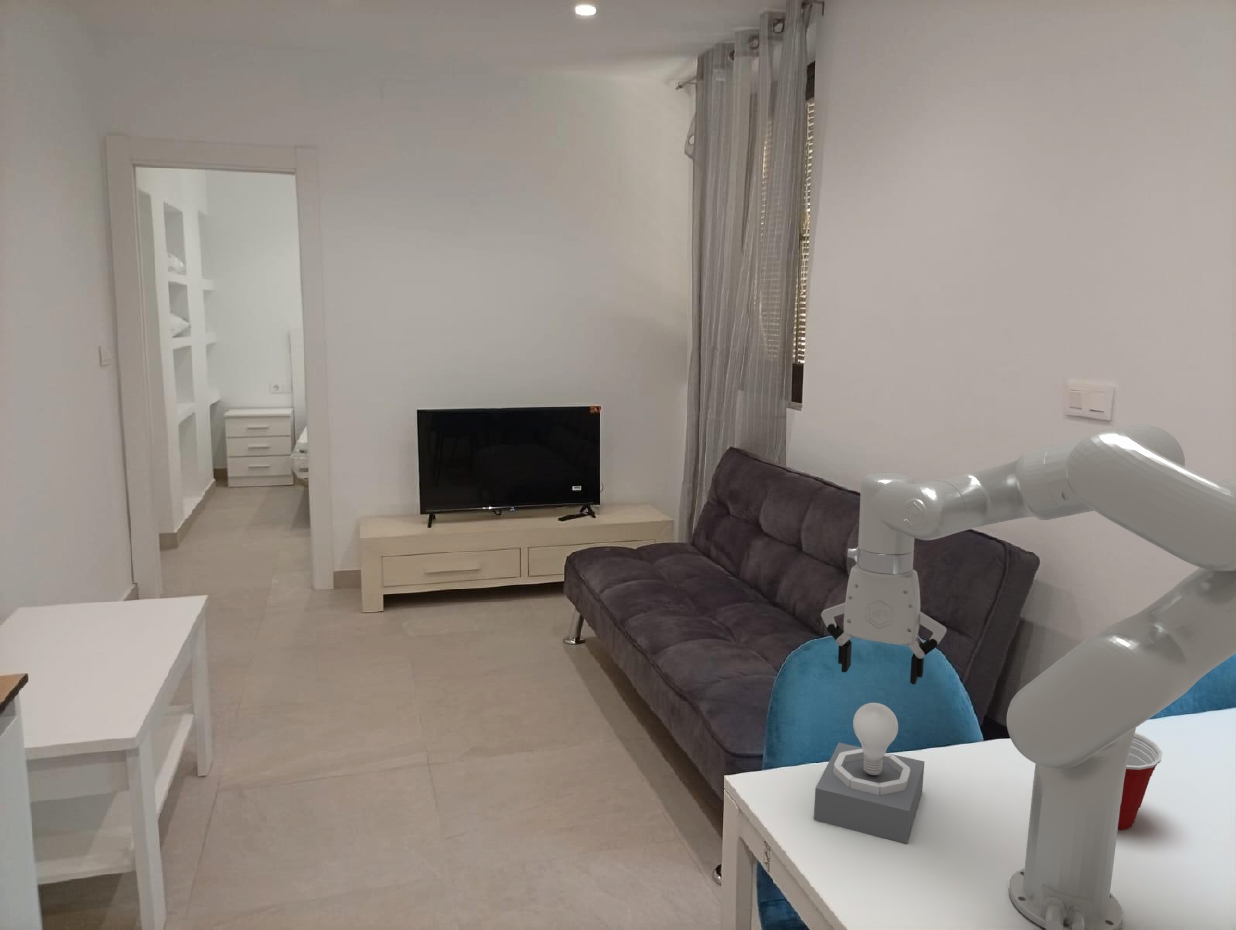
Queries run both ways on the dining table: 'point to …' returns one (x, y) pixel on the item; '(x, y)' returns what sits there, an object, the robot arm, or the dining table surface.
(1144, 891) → the dining table surface
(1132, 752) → the plastic cup
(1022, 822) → the dining table surface
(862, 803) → the octagon ring base plate
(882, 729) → the lightbulb
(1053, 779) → the robot arm
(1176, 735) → the dining table surface
